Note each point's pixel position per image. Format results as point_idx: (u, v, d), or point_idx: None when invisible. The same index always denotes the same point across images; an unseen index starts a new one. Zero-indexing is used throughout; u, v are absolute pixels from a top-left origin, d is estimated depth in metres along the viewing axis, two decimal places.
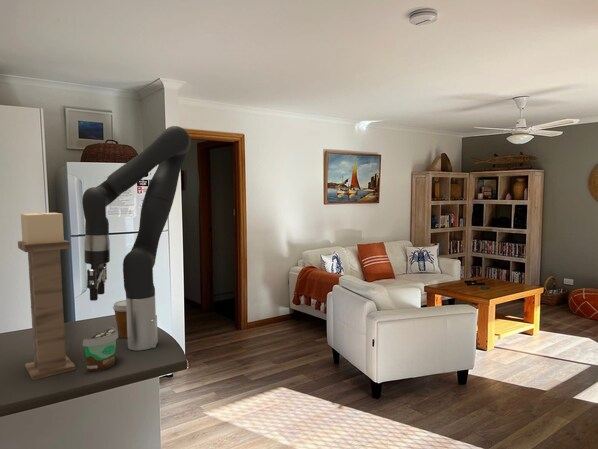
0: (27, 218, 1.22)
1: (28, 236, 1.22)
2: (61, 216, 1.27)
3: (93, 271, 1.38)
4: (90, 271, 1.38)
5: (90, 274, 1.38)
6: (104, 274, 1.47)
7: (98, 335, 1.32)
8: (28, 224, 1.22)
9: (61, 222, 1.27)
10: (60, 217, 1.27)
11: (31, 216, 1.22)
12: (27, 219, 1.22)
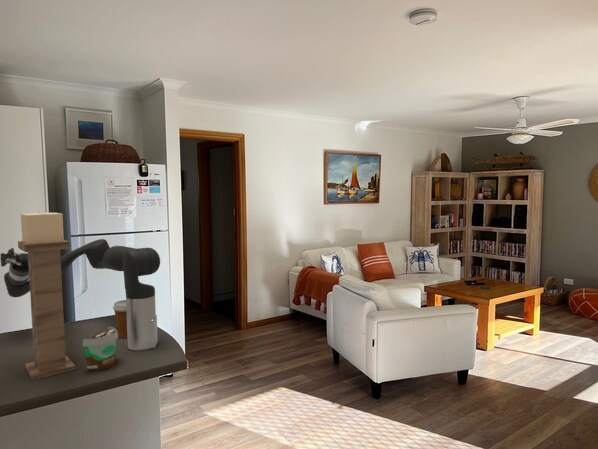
0: (27, 218, 1.22)
1: (28, 236, 1.22)
2: (61, 216, 1.27)
3: None
4: (1, 263, 1.51)
5: None
6: None
7: (98, 335, 1.32)
8: (28, 224, 1.22)
9: (61, 222, 1.27)
10: (60, 217, 1.27)
11: (31, 216, 1.22)
12: (27, 219, 1.22)
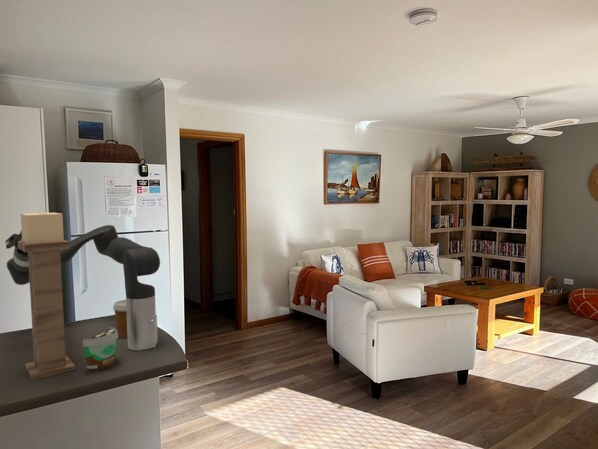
0: (27, 218, 1.22)
1: (28, 236, 1.22)
2: (61, 216, 1.27)
3: None
4: (6, 245, 1.40)
5: (7, 243, 1.40)
6: None
7: (98, 335, 1.32)
8: (28, 224, 1.22)
9: (61, 222, 1.27)
10: (60, 217, 1.27)
11: (31, 216, 1.22)
12: (27, 219, 1.22)
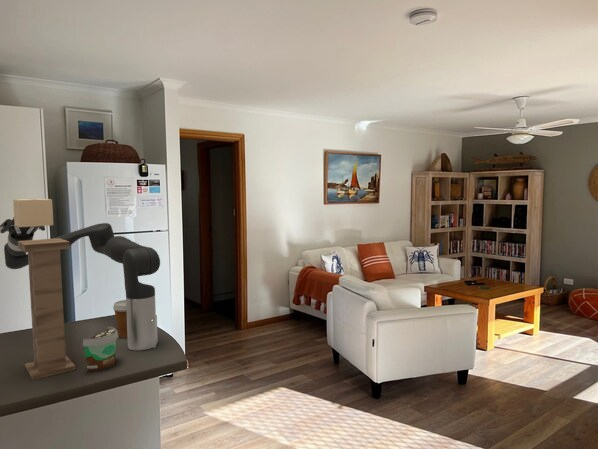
0: (18, 203, 1.31)
1: (19, 220, 1.31)
2: (51, 201, 1.36)
3: (0, 227, 1.49)
4: (0, 229, 1.49)
5: (1, 228, 1.49)
6: None
7: (98, 335, 1.32)
8: (19, 208, 1.31)
9: (51, 207, 1.36)
10: (49, 202, 1.36)
11: (22, 201, 1.31)
12: (18, 204, 1.31)
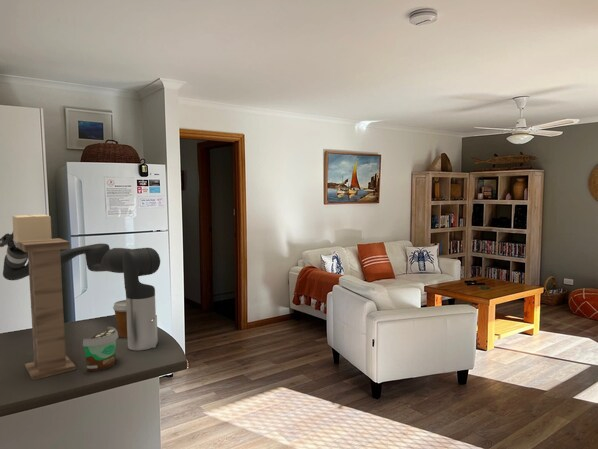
0: (18, 220, 1.34)
1: (19, 236, 1.34)
2: (49, 218, 1.39)
3: None
4: None
5: (0, 242, 1.52)
6: None
7: (98, 335, 1.32)
8: (19, 225, 1.34)
9: (49, 223, 1.39)
10: (48, 219, 1.39)
11: (21, 218, 1.34)
12: (18, 221, 1.34)
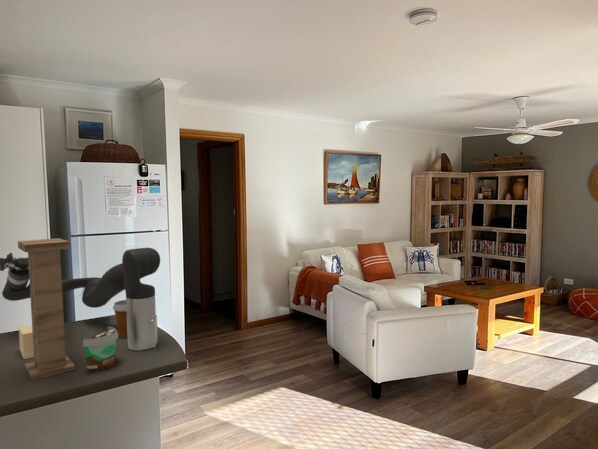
0: (23, 336, 1.38)
1: (24, 352, 1.39)
2: None
3: None
4: None
5: None
6: None
7: (98, 335, 1.32)
8: (24, 342, 1.38)
9: None
10: None
11: (27, 334, 1.39)
12: (23, 337, 1.38)
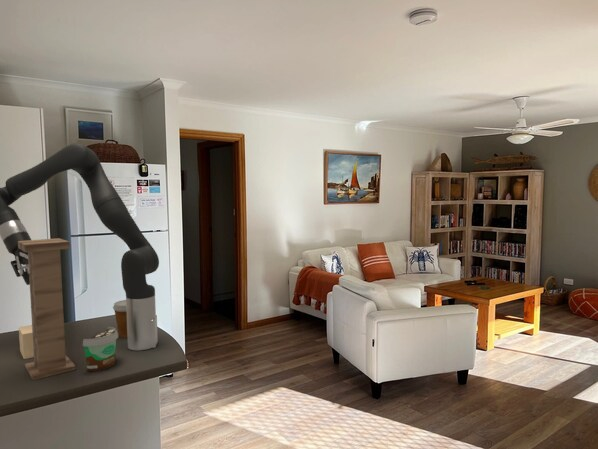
0: (23, 336, 1.38)
1: (24, 352, 1.39)
2: None
3: None
4: None
5: None
6: (25, 257, 1.44)
7: (98, 335, 1.32)
8: (24, 342, 1.38)
9: None
10: None
11: (27, 334, 1.39)
12: (23, 337, 1.38)
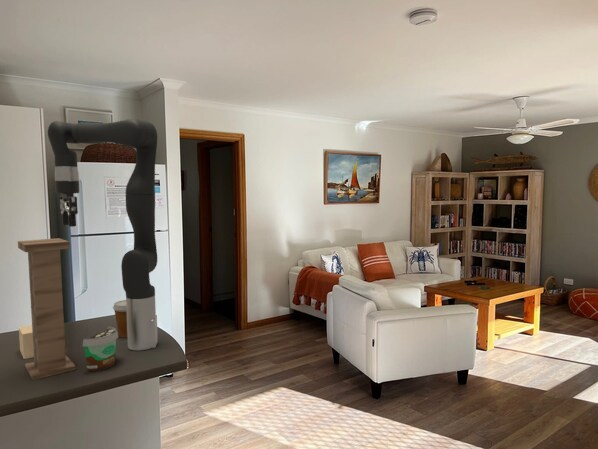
0: (23, 336, 1.38)
1: (24, 352, 1.39)
2: None
3: None
4: None
5: None
6: (64, 205, 1.54)
7: (98, 335, 1.32)
8: (24, 342, 1.38)
9: None
10: None
11: (27, 334, 1.39)
12: (23, 337, 1.38)
